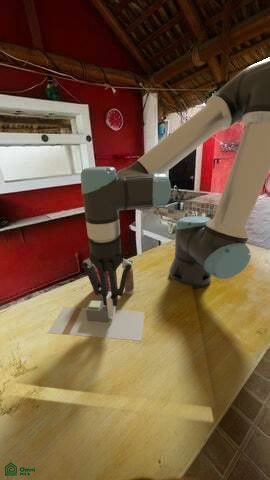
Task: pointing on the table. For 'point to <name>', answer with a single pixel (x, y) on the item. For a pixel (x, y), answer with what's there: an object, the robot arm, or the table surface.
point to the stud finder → (97, 311)
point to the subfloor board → (99, 324)
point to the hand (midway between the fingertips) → (112, 313)
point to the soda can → (100, 283)
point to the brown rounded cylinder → (129, 283)
